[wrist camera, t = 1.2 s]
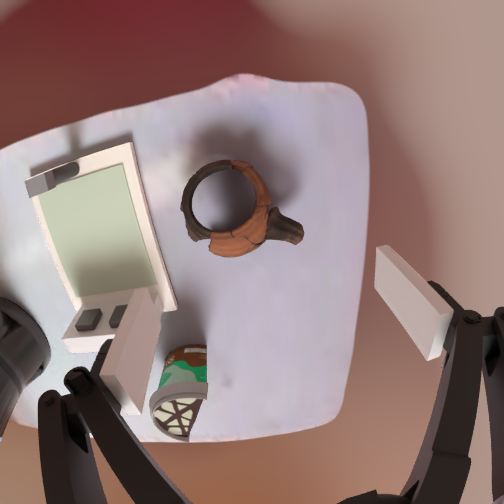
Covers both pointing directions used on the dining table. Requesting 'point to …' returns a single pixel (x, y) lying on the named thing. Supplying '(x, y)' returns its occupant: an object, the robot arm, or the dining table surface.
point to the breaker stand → (103, 241)
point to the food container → (180, 391)
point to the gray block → (51, 179)
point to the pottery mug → (249, 232)
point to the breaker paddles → (93, 316)
